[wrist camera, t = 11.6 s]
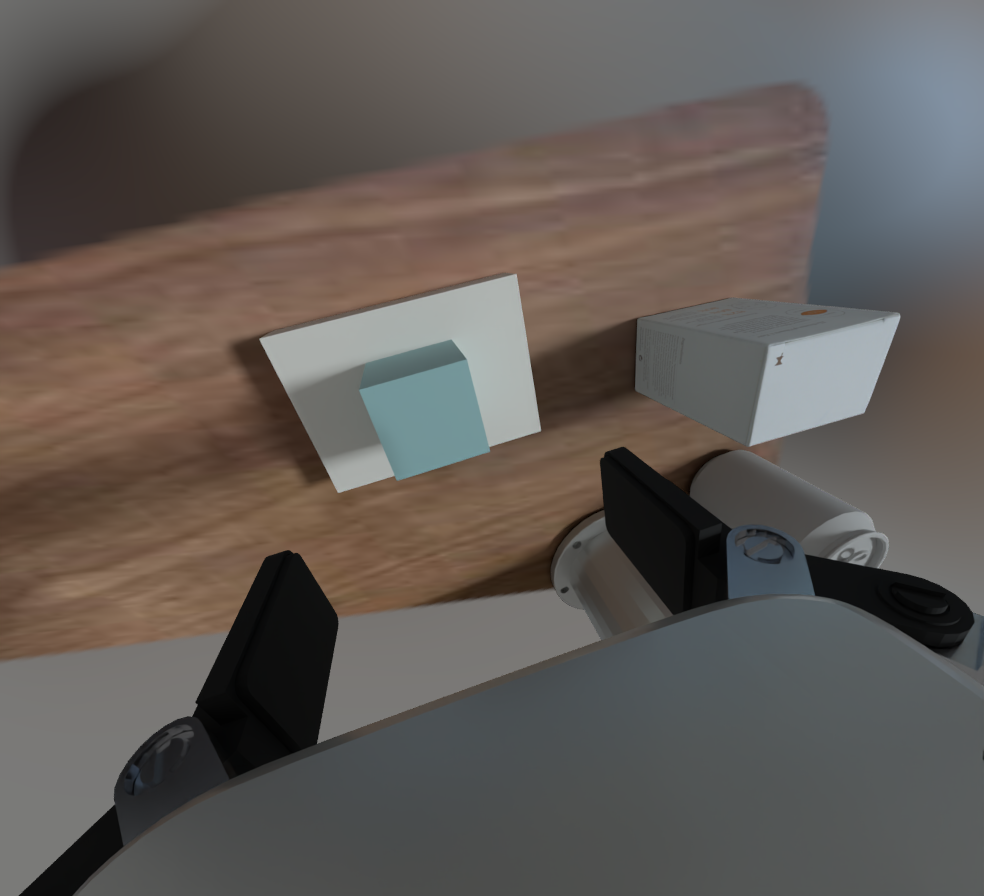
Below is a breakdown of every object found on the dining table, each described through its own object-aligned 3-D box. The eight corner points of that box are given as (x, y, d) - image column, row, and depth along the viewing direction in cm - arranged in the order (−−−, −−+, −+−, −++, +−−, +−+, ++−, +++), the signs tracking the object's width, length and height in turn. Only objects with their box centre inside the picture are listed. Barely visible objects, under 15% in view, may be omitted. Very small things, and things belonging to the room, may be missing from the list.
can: (671, 513, 36) (785, 615, 25) (701, 443, 33) (845, 528, 22) (730, 511, 38) (859, 606, 28) (764, 446, 35) (922, 525, 24)
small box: (631, 390, 29) (744, 451, 19) (634, 316, 26) (767, 345, 17) (721, 369, 30) (867, 416, 21) (733, 295, 27) (907, 312, 18)
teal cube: (451, 339, 21) (466, 359, 17) (472, 416, 24) (490, 451, 19) (365, 363, 21) (358, 390, 16) (396, 439, 23) (396, 480, 19)
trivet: (504, 272, 23) (516, 273, 20) (529, 417, 27) (541, 431, 25) (272, 330, 21) (258, 338, 19) (342, 473, 26) (338, 492, 24)
